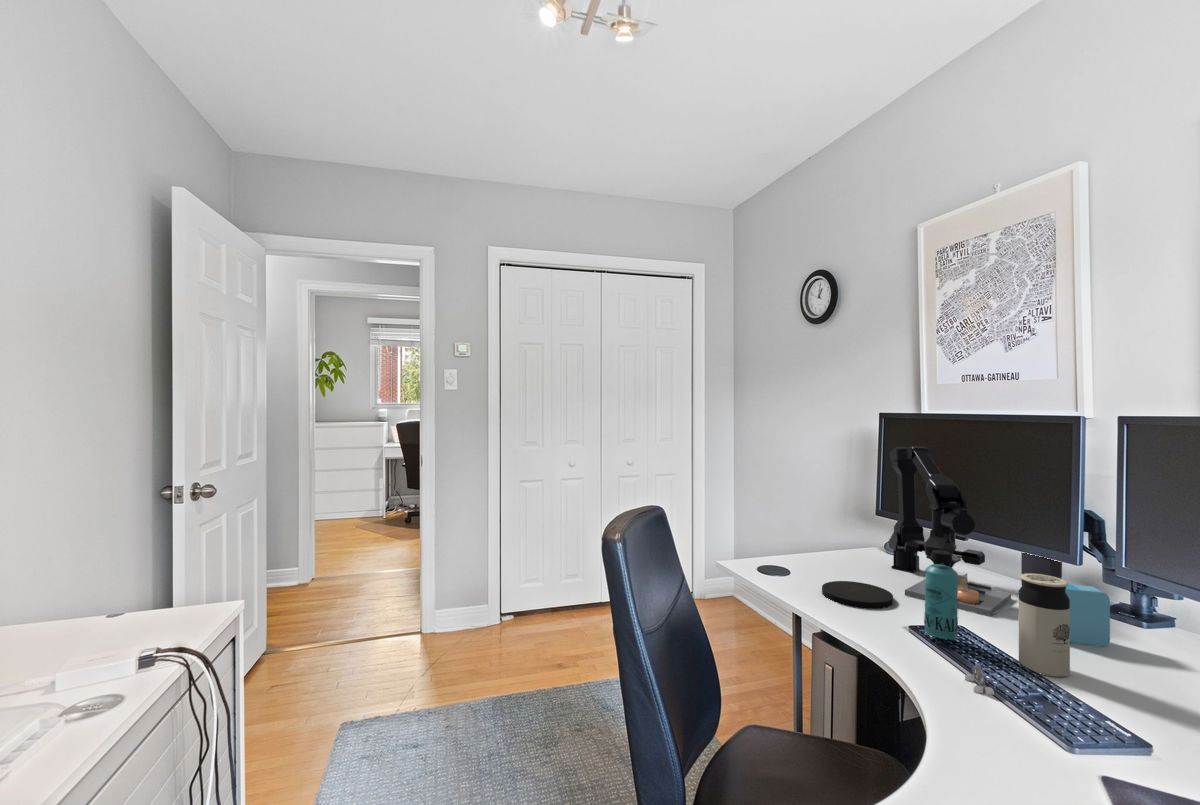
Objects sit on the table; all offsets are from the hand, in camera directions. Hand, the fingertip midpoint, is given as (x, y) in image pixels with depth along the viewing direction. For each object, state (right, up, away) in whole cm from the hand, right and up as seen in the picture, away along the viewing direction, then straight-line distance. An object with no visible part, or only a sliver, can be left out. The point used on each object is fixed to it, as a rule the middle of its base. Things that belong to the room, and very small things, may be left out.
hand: (943, 581), depth 154 cm
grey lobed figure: (-28, -3, -57) cm, 63 cm away
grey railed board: (+2, -3, -3) cm, 5 cm away
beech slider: (+2, -2, -2) cm, 4 cm away
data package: (+10, -3, -31) cm, 33 cm away
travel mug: (-9, -3, -45) cm, 46 cm away
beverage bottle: (-21, -3, -32) cm, 39 cm away
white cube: (+5, -2, +2) cm, 6 cm away
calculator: (+29, -4, +2) cm, 29 cm away
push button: (0, -2, -10) cm, 11 cm away
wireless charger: (-27, -3, -4) cm, 27 cm away
